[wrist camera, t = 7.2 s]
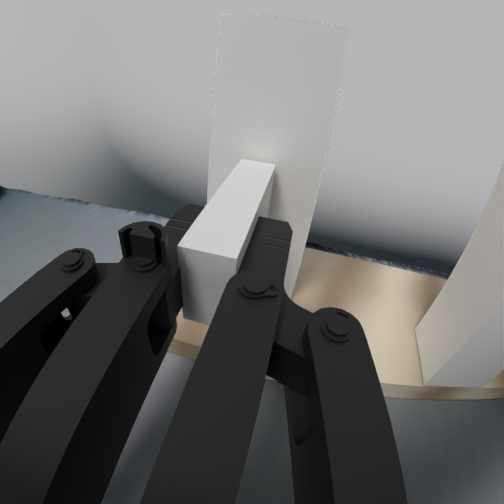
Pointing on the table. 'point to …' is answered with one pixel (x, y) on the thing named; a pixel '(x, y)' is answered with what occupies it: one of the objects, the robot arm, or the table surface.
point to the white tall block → (469, 309)
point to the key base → (366, 320)
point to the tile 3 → (277, 111)
